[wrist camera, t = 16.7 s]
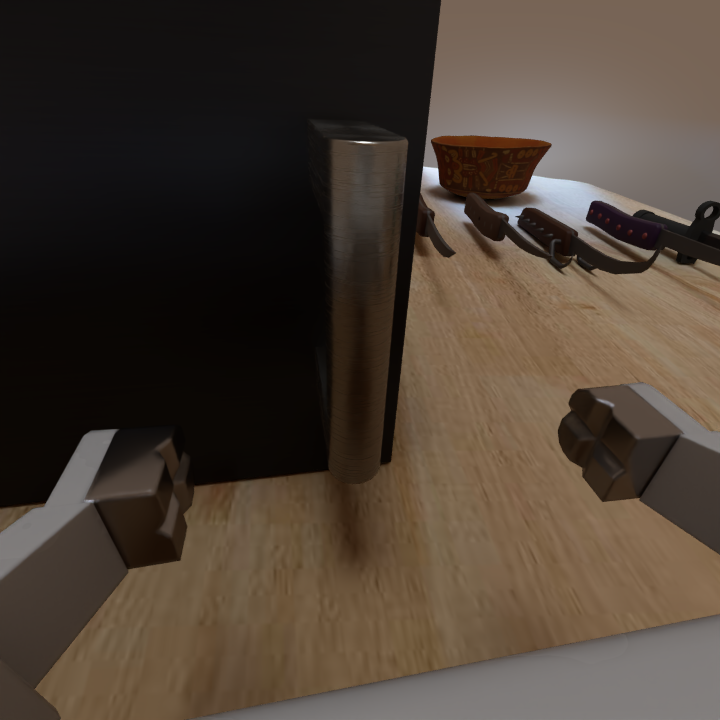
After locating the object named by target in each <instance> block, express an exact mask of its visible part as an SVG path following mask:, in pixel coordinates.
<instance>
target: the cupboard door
mask: <svg viewBox="0 0 720 720" xmlns="http://www.w3.org/2000/svg"><path fill="white" fill-rule="evenodd" d="M440 6H441V0H0V506H1V505H10V504H19V503H28V502H37V501H46V500H48V498H49V497H50V495H51V493H52V491H53V489H54V488H55V486H56V484H57V482H58V480H59V479H60V477H61V475H62V473H63V471H64V470H65V468H66V466H67V464H68V462H69V461H70V459H71V457H72V455H73V453H74V452H75V450H76V448H77V446H78V444H79V443H80V441H81V439H82V437H83V436H84V435H85V434H87V433H88V432H90V431H95V430H110V429H121V428H132V427H147V426H162V425H177V424H178V425H179V426H181V427H182V429H183V432H184V436H185V439H186V441H185V445H184V449H183V452H185V453H186V454H188V455H189V456H191V460H192V463H193V469H194V477H195V478H194V484H197V483H206V482H215V481H224V480H233V479H241V478H250V477H259V476H268V475H277V474H286V473H295V472H304V471H313V470H322V469H329V470H330V472H331V473H332V475H333V476H334V477H335V478H336V479H338V480H340V481H342V482H344V483H348V484H361V483H364V482H367V481H369V480H371V479H372V478H373V477H374V476H375V475H376V474H377V472H378V470H379V468H380V463H384V462H391V456H392V447H393V438H394V429H395V419H396V410H397V401H398V392H399V383H400V374H401V364H402V355H403V346H404V337H405V328H406V318H407V309H408V300H409V291H410V282H411V272H412V263H413V254H414V245H415V236H416V226H417V217H418V208H419V199H420V190H421V180H422V171H423V162H424V153H425V144H426V134H427V125H428V116H429V106H430V98H431V97H430V96H431V88H432V79H433V70H434V61H435V51H436V42H437V33H438V24H439V15H440V14H439V13H440Z"/></svg>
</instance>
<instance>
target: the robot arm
mask: <svg viewBox="0 0 720 720" xmlns="http://www.w3.org/2000/svg"><path fill="white" fill-rule="evenodd" d="M568 404H569V407H570V409H571V411H570V412H569V413H568V414H567V415H566V416H565V417H564V418H563V419H562V420H561V423H560V426H559V429H558V437H559V444H560V446H561V448H562V451H563V452H564V454H565V455H566V456H567V458H568V459H569V460H570V461H571V462H573V463H575V464H577V465H578V466H580V467H582V477H583V478H584V479H585V481H586V482H587V483H588V484H589V486H590V487H591V488H592V489H593V491H594V492H595V493H596V494H597V496H598V497H599V498H600V500H601V501H602V502H607V501H616V500H626V499H635V498H640V499H639V500H640V501H641V502H643V503H644V504H646V505H647V506H649V507H650V508H651V509H653V510H654V511H656V512H657V513H659V514H660V515H662V516H663V517H665V518H666V519H668V520H669V521H671V522H672V523H674V524H675V525H677V526H678V527H680V528H681V529H683V530H684V531H685V532H687V533H688V534H690V535H691V536H693V537H694V538H696V539H697V540H699V541H700V542H702V543H703V544H705V545H706V546H708V547H709V548H711V549H712V550H714V551H715V552H716V553H718V554H719V555H720V432H717V431H712V432H710V431H708V430H707V429H706V428H705V427H703V426H702V425H701V424H699V423H698V422H697V421H696V420H694V419H693V418H692V417H691V416H689V415H688V414H687V413H686V412H684V411H683V410H682V409H680V408H679V407H678V406H677V405H675V404H674V403H673V402H672V401H670V400H669V399H668V398H667V397H665V396H664V395H663V394H661V393H660V392H659V391H658V390H656V389H655V388H654V387H653V386H651V385H649V384H646V383H643V382H639V383H630V384H621V385H615V386H604V387H594V388H584V389H578V390H577V391H575V392H574V393H573V394H572V396H571V398H570V401H569V403H568ZM185 441H186V439H185V436H184V432H183V429H182V427H181V426H179V425H178V424H177V425H162V426H147V427H132V428H121V429H110V430H95V431H90V432H88V433H87V434H85V435H84V436H83V437H82V439H81V441H80V443H79V444H78V446H77V448H76V450H75V452H74V453H73V455H72V457H71V459H70V461H69V462H68V464H67V466H66V468H65V470H64V471H63V473H62V475H61V477H60V479H59V480H58V482H57V484H56V486H55V488H54V489H53V491H52V493H51V495H50V497H49V498H48V500H47V502H46V504H45V506H44V507H41V508H34V509H32V510H31V511H29V512H28V513H27V514H25V515H24V516H22V517H21V518H20V519H18V520H17V521H16V522H14V523H13V524H12V525H10V526H9V527H8V528H6V529H5V530H4V531H2V532H1V533H0V720H60V719H61V717H60V715H59V713H58V712H57V710H56V708H55V707H54V706H52V705H51V704H50V703H49V702H48V701H47V700H46V699H45V698H44V697H43V696H41V695H40V694H39V693H38V692H37V691H36V690H35V688H36V686H37V685H38V684H39V683H40V681H41V680H42V679H43V678H44V676H45V675H46V674H47V673H48V672H49V670H50V669H51V668H52V667H53V665H54V664H55V663H56V662H57V660H58V659H59V658H60V657H61V655H62V654H63V653H64V652H65V650H66V649H67V648H68V647H69V645H70V644H71V643H72V642H73V641H74V639H75V638H76V637H77V636H78V634H79V633H80V632H81V631H82V629H83V628H84V627H85V626H86V624H87V623H88V622H89V621H90V619H91V618H92V617H93V616H94V615H95V613H96V612H97V611H98V610H99V608H100V607H101V606H102V605H103V603H104V602H105V601H106V600H107V598H108V597H109V596H110V595H111V593H112V592H113V591H114V590H115V588H116V587H117V586H118V585H119V584H120V582H121V581H122V580H123V579H124V577H125V576H126V575H127V574H128V569H133V568H139V567H145V566H151V565H157V564H163V563H169V562H175V561H180V560H181V555H182V550H183V545H184V541H185V536H186V531H187V524H186V521H185V518H184V515H183V514H184V513H185V512H186V511H187V510H188V509H189V508H190V507H191V506H192V501H193V495H194V478H195V477H194V469H193V463H192V460H191V456H189V455H188V454H186V453H185V452H183V449H184V445H185ZM186 720H720V614H717V615H712V616H707V617H702V618H697V619H692V620H687V621H682V622H677V623H672V624H667V625H661V626H656V627H651V628H646V629H641V630H636V631H631V632H626V633H621V634H616V635H611V636H606V637H601V638H596V639H591V640H586V641H581V642H575V643H570V644H565V645H560V646H555V647H550V648H545V649H540V650H535V651H530V652H525V653H520V654H515V655H510V656H505V657H500V658H494V659H489V660H484V661H479V662H474V663H469V664H464V665H459V666H454V667H449V668H444V669H439V670H434V671H429V672H424V673H419V674H414V675H408V676H403V677H398V678H393V679H388V680H383V681H378V682H373V683H368V684H363V685H358V686H353V687H348V688H343V689H338V690H333V691H328V692H323V693H318V694H313V695H308V696H302V697H297V698H292V699H287V700H282V701H277V702H272V703H267V704H262V705H257V706H252V707H247V708H242V709H237V710H232V711H227V712H222V713H217V714H212V715H207V716H202V717H196V718H191V719H186Z"/></svg>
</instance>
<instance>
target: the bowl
mask: <svg viewBox="0 0 720 720" xmlns="http://www.w3.org/2000/svg"><path fill="white" fill-rule="evenodd" d="M431 143H432V146H433V149H434V151H435V154H436V158H437V162H438V170H439V182H440V184H441V186H442V187H443V188H445V189H446V190H448V191H450V192H452V193H454V194H457V195H460V196H463V197H467V195H468V194H469V193H476V194H477V195H479V196H480V197H481V198H482V199H500V198H505V197H510V196H514V195H517V194H520V193H522V192H523V191H525V190H526V189H527V187H528V184H529V182H530V179H531V177H532V174H533V172H534V169H535V168H536V166H537V164H538V163H539V162H540V160H541V159H542V157H543V156H544V155H545V153H546V152H547V151H548V149H549V148H550V147H551V143H548V142H545V141H541V140H540V141H539V140H531V139H521V138H519V139H518V138H505V137H486V136H441V137H437V138H434V139H432V140H431Z"/></svg>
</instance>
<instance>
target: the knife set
mask: <svg viewBox="0 0 720 720" xmlns="http://www.w3.org/2000/svg"><path fill="white" fill-rule="evenodd" d="M711 206H713V212H712V214H711V215H710V216H708V217H706V218H704V213H705V211H706V210H707V209H708V208H709V207H711ZM464 213H465V214H466V215H467V216H468V217H469V218H470V219H471V221H472V222H473V224H474V225H475V227H476V228H477V229H478V230H479V231H480V232H481V233H482V234H483V235H484V236H486V237H488V238H490V239H492V240H493V241H502V240H503V239H504V238H505V235H506V236H507V237H508V238H510V239H511V240H512V241H513V242H514V243H515V244H516V245H517V246H518V247H519V248H521V249H523V250H524V251H526V252H528V253H530V254H532V255H535V256H537V257H541V258H546V259H549V260H550V262H551V263H552V264H554V265H555V266H556V267H558V268H559V269H562V268H564V267H566V266H567V265H568V264H569V263H570V262H571V260H572V257H573V256H575V255H577V262H578V263H579V264H580V265H581V266H583V267H584V268H586V269H588V270H590V271H591V270H594V269H597V268H598V269H599V270H602V271H606V272H609V273H612V274H631V273H642V272H644V271H646V270H647V269H649V267H650V266H651V265H652V263H653V262H654V261H655V260H656V258H657V256H658V254H659V253H660V251H661V250H664V248H665V247H668V248H670V249H672V250H675V251H677V252H678V254H677V258H676V261H677V262H680V263H690V264H694V263H695V262H696V260H697V259H699V260H702V261H706V262H709V263H712V264H715V265H718V266H720V235H717V234H714V233H712V231H713V227H714V222H715V220H716V219H718V218H719V216H720V203H717V202H713V201H707V202H705V203H703V204H701V205H700V206H699V207H698V209H697V210H696V213H695V217H696V219H695V220H694V221H693V223H692V224H691V225H690V226H687V225H684V224H681V223H678V222H675V221H672V220H669V219H666V218H663V217H660V216H657V215H655V214H654V213H653V212H650V211H646V210H639V211H637V212H636V213H635V214H634V215H633V216H630V215H628V214H626V213H624V212H622V211H620V210H619V209H617V208H615V207H613V206H611V205H609V204H607V203H604V202H602V201H593V202H592V203H591V205H590V208H589V211H588V214H587V217H586V221H588V222H589V223H592V224H594V225H595V226H597V227H599V228H601V229H602V230H603V231H605V232H606V233H608V234H609V235H611V236H612V237H614V238H616V239H618V240H620V241H623V242H626V243H628V244H631V245H634V246H636V247H639V248H643V249H646V250H656V249H657V250H656V252H655V253H654V255H653V256H652V257H651V258H650V259H649V260H648V261H647V262H625V261H620V260H617V259H614V258H612V257H609V256H607V255H605V254H603V253H602V252H600V251H598V250H596V249H595V248H593V247H592V246H590V245H589V244H587V243H586V242H584V241H583V240H581V239H580V238H578V232H577V231H575V230H574V229H572V228H570V227H568V226H567V225H565V224H563V223H561V222H559V221H558V220H556V219H554V218H552V217H550V216H549V215H547V214H545V213H543V212H541V211H540V210H538V209H536V208H525V209H523V211H522V213H521V215H520V216H515V217H517V218H519V220H518V222H517V223H518V224H519V225H520V226H521V227H522V228H524V229H525V230H526V231H528V232H529V233H531V234H532V235H534V236H535V237H536V238H538V239H539V240H540V241H542V242H543V243H544V244H546V245H547V246H549V254H548V253H546V252H544V251H543V250H541V249H539V248H538V247H536V246H534V245H533V244H531V243H530V242H529V241H527V240H526V239H525V238H524V237H522V236H521V235H520V234H519V233H518V232H517V231H516V230H515V229H514V228H513V227H512V226H511V225H510V224H509V223H508V221H509V217H508V216H507V215H506V214H503V213H500V212H496V211H494V210H493V209H492V208H491V207H490V206H488V205H487V203H486V202H485V201H484V200H483V199H482V198H481V197H480V196H479V195H477V194H476V193H469V194H468V195H467V198H466V204H465V209H464ZM434 216H435V213H434V211H432V210H431V209H429V208H428V207H427V206H426V204H425V202H424V200H423V197H422V195H421V193H420V199H419V208H418V217H417V226H416V232H417V233H418V234H419V235H420V236H422V237H430V239H431V241H432V243H433V245H434V247H435V248H436V249H437V251H438V252H439V253H440V254H441V255H442V256H443V257H448V258H449V257H451V256H452V255H454V254H456V252H454V251H453V250H452V249H451V248H450V247H449V246H448V244H447V243H446V242H445V241H444V240H443V238H442V237H441V235H440V234H439V232H438V230H437V228H436V226H435V224H434ZM555 251H556V252H557V253H559V254H561V255H562V256H569V257H570V256H572V257H571V259H570V260H569V261H568V262H567V263H565V264H561V263H560V262H559V261H558V260H556V259H555V258H554V254H555ZM590 264H591V265H592V266H591V265H590Z"/></svg>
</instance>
